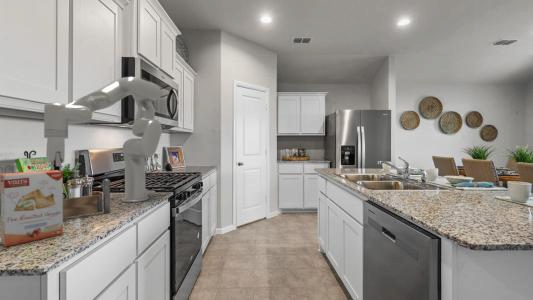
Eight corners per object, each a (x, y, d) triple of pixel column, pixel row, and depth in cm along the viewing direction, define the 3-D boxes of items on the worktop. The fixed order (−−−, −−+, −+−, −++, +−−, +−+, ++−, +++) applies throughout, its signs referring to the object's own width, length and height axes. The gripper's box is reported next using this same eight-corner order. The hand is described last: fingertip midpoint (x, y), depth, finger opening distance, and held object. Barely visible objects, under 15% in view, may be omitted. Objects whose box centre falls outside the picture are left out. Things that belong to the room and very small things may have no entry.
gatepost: (109, 211, 116) (109, 178, 116) (111, 213, 114) (111, 178, 113) (101, 212, 114) (101, 178, 113) (103, 214, 112) (103, 179, 111)
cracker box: (5, 248, 77) (3, 174, 76) (0, 243, 80) (-2, 173, 79) (64, 234, 88) (63, 170, 87) (58, 230, 91) (56, 169, 91)
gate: (101, 210, 113) (101, 193, 113) (103, 211, 112) (102, 194, 112) (36, 220, 99) (36, 201, 99) (37, 222, 98) (36, 202, 97)
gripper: (42, 134, 110) (41, 179, 110) (46, 133, 99) (46, 183, 99) (64, 135, 115) (64, 178, 115) (71, 134, 104) (70, 182, 104)
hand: (56, 180), depth 107 cm, fingers closed
